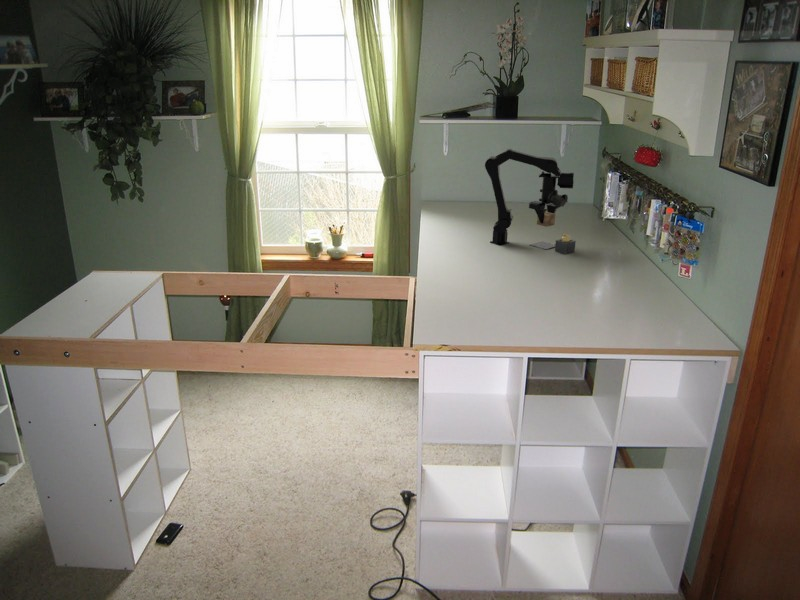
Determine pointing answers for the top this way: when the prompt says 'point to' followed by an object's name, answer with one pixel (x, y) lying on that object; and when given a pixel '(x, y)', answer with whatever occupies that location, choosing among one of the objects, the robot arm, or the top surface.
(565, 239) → the pin
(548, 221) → the light brown cube-like block
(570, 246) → the press block
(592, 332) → the top surface
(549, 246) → the plate
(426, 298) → the top surface
